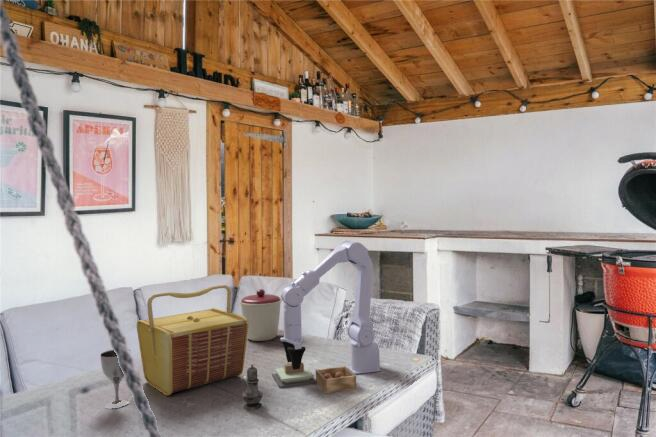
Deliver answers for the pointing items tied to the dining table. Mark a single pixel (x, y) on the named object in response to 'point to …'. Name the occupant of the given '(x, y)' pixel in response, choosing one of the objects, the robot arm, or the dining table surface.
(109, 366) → the wine glass
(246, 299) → the canister
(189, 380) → the picnic basket
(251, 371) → the salt shaker
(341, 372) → the box
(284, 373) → the lid
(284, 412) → the dining table surface
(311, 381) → the mat
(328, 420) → the dining table surface
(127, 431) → the dining table surface
